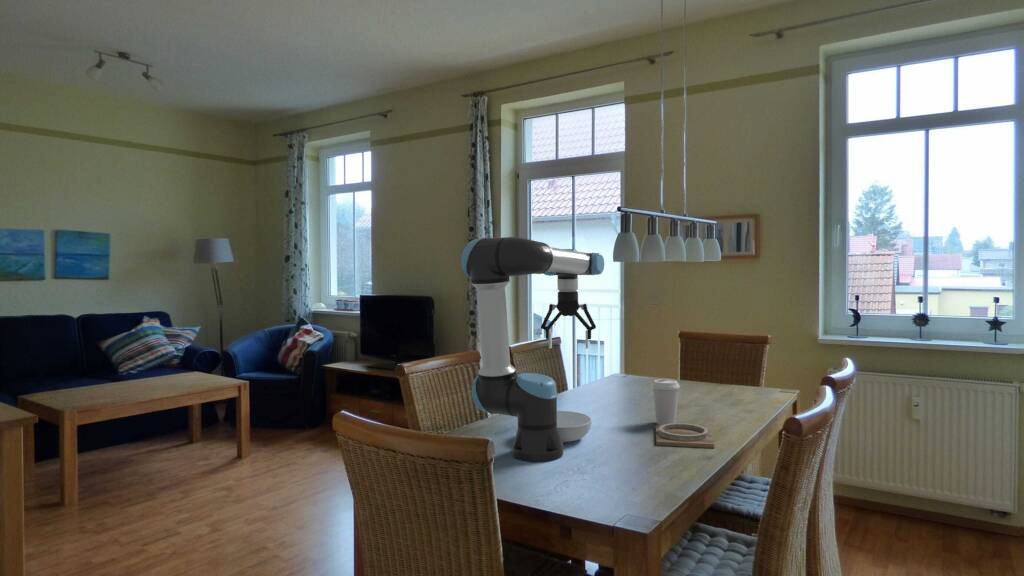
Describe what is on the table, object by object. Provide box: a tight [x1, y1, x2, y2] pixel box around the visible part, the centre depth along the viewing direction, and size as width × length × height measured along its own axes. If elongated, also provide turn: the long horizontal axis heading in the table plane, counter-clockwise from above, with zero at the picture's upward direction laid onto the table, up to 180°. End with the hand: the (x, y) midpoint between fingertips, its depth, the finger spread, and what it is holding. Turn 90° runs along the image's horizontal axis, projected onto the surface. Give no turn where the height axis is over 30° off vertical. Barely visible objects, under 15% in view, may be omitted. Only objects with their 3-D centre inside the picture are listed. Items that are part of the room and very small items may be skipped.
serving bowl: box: [557, 410, 592, 443], centre depth 195 cm, size 21×21×7 cm
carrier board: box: [655, 422, 715, 449], centre depth 195 cm, size 20×17×3 cm
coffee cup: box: [651, 378, 681, 425], centre depth 212 cm, size 10×10×15 cm
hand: (568, 348), depth 224 cm, fingers open, 13 cm apart
